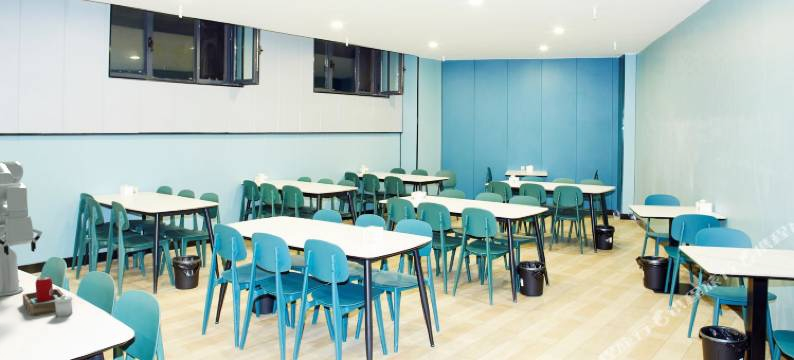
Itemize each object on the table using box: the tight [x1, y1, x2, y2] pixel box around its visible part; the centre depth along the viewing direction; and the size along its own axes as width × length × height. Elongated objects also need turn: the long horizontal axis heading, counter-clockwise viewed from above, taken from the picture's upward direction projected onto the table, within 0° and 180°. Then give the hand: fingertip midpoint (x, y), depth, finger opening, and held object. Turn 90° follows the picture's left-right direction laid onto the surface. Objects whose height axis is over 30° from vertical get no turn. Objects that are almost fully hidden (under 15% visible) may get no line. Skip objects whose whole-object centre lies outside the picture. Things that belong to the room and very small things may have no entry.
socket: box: [30, 295, 59, 305], centre depth 258 cm, size 10×10×2 cm
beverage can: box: [35, 276, 54, 303], centre depth 258 cm, size 6×6×12 cm
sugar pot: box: [54, 294, 73, 318], centre depth 247 cm, size 7×7×8 cm
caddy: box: [22, 288, 66, 317], centre depth 258 cm, size 22×14×4 cm, turn 40°
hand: (20, 252), depth 259 cm, fingers open, 9 cm apart
